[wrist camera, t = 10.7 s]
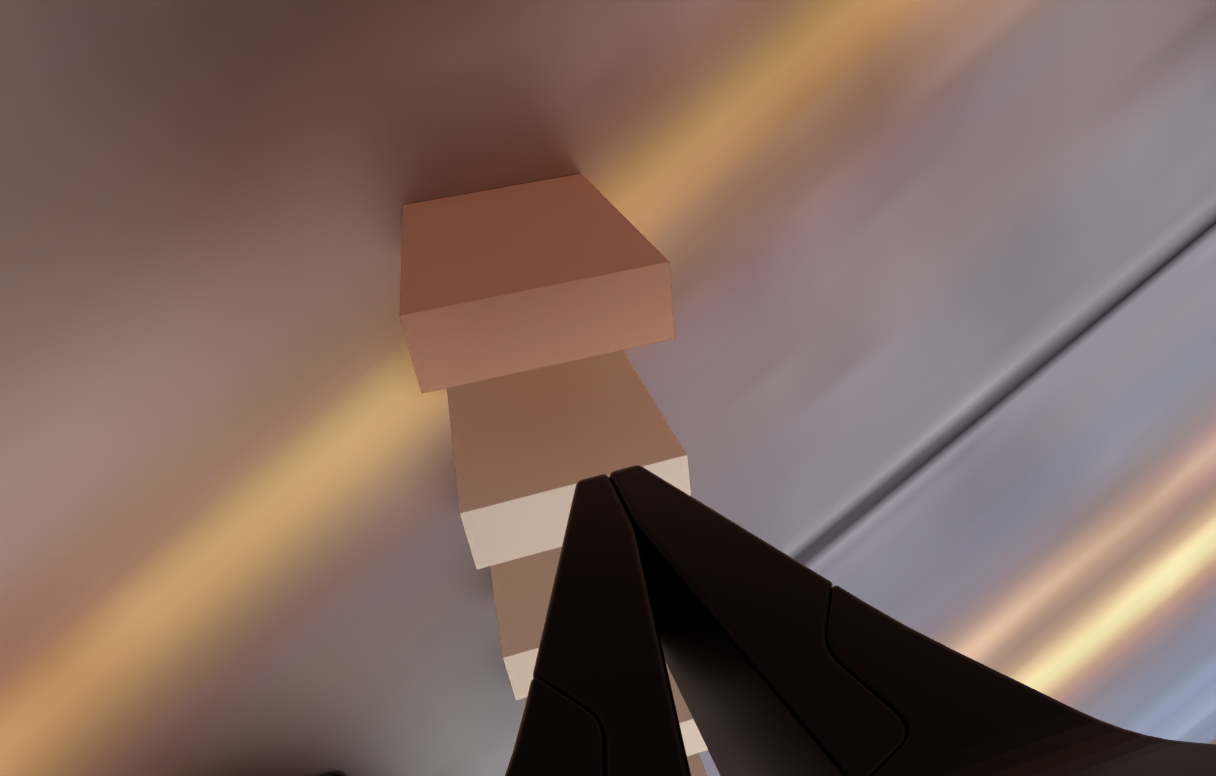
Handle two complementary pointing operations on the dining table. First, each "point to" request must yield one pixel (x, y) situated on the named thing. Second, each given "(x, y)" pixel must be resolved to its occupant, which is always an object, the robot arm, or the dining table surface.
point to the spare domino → (526, 281)
